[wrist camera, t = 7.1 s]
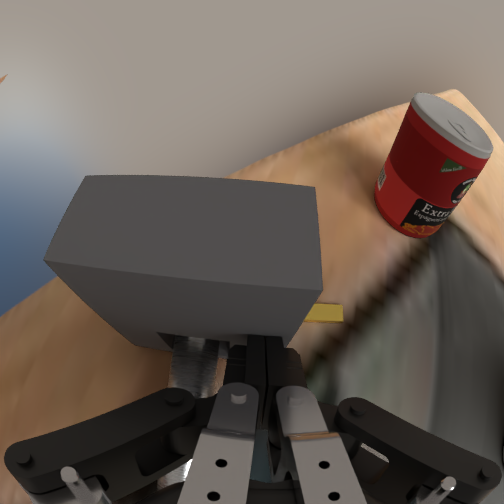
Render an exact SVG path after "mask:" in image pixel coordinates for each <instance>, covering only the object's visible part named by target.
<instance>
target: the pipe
mask: <svg viewBox="0 0 504 504" xmlns="http://www.w3.org/2000/svg"><path fill="white" fill-rule="evenodd" d="M303 322H325V323H342V322H343V308H342V305H334V304H316V303H315V304H314V305H313V307H312V308H311V310H310V312H309V313H308V315H307V316H306V318H305V319H304V321H303ZM219 345H220V340H212V339H204V338H196V337H188V336H181V335H175V341H174V347H173V354H172V360H171V367H170V373H169V380H168V387H167V388H170V387H176V388H182V389H185V390H187V391H189V392H190V393H192V394H193V396H194V398H195V399H197V398H206V397H211V396H213V395H214V390H215V381H216V372H217V363H218V354H219ZM191 461H192V460H190V461H188V462H187V463H185V464H183V465H182V466H180V467H178V468H177V469H175V470H173V471H172V472H170V473H168V474H166V475H165V476H163V477H161V478H159V479H158V484H157V491H158V490H160V489H162V488H164V487H166V486H169V485H171V484H174V483H177V482H182V481H185V479H186V476H187V473H188V470H189V467H190V464H191Z"/></svg>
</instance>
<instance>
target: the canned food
mask: <svg viewBox="0 0 504 504" xmlns="http://www.w3.org/2000/svg"><path fill="white" fill-rule="evenodd" d="M492 151H493V145H492V143H491V141H490V139H489V137H488V136H487V134H486V133H485V132H484V130H483V129H482V128H481V127H480V126H479V125H478V124H477V123H476V122H475V121H474V120H473V119H472V118H471V117H469V116H468V115H467V114H466V113H465V112H463V111H462V110H460V109H459V108H457V107H456V106H454V105H453V104H451V103H449V102H448V101H446V100H444V99H442V98H440V97H437V96H435V95H432V94H428V93H422V92H420V93H415V94H414V97H413V98H412V100H411V102H410V105H409V107H408V110H407V112H406V114H405V117H404V119H403V122H402V124H401V127H400V129H399V132H398V134H397V136H396V139H395V141H394V143H393V146H392V148H391V150H390V153H389V155H388V157H387V160H386V162H385V164H384V166H383V168H382V171H381V173H380V175H379V177H378V179H377V182H376V185H375V193H374V196H375V202H376V205H377V207H378V209H379V211H380V213H381V214H382V216H383V217H384V218H385V219H386V220H387V221H388V223H389V224H391V225H392V226H393V227H394V228H395V229H397V230H398V231H400V232H401V233H403V234H405V235H408V236H411V237H414V238H425V237H427V236H430V235H431V234H433V233H435V232H436V231H437V230H438V229H439V228H440V227H441V225H442V224H443V223H444V222H445V220H446V219H447V218H448V216H449V215H450V214H451V213H452V211H453V210H454V209H455V207H456V206H457V205H458V203H459V202H460V201H461V199H462V198H463V197H464V195H465V194H466V192H467V191H468V190H469V188H470V187H471V185H472V184H473V183H474V181H475V180H476V178H477V177H478V175H479V174H480V172H481V171H482V169H483V168H484V166H485V164H486V163H487V161H488V159H489V158H490V156H491V153H492Z"/></svg>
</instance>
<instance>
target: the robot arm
mask: <svg viewBox="0 0 504 504" xmlns="http://www.w3.org/2000/svg"><path fill="white" fill-rule="evenodd" d="M260 422H261V425H262V429H266V430H268V440H267V451H268V459H269V466H270V473H271V482H272V483H264V482H260V481H256V480H252V479H249V477H250V470H251V462H252V454H253V446H254V439H255V434H256V429H259V428H260ZM362 443H364V444H366V445H367V446H369V447H371V448H372V449H374V450H376V451H377V452H379V453H381V454H383V455H384V456H386V457H387V458H388V460H389V463H388V462H386V461H384V460H382V459H380V458H379V457H377V456H375V455H374V454H372V453H370V452H369V451H367V450H365V449H364V448H362V447H361V445H362ZM190 460H192V461H191V464H190V467H189V470H188V473H187V476H186V479H185V481H182V482H177V483H174V484H171V485H169V486H166V487H164V488H162V489H160V490H158V491H157V492H155V493H153V494H152V495H150V496H148V497H147V498H145V499H143V500H141V501H140V502H138V503H136V504H479V503H480V502H481V501H482V500H483V499H484V498H485V497H486V496H487V495H489V494H490V493H491V492H492V491H493V490H494V489H495V488H496V487H497V485H498V484H499V483H500V481H501V477H502V474H501V470H500V468H499V466H498V465H497V464H496V463H494V462H493V461H491V460H488V459H486V458H483V457H481V456H479V455H476V454H474V453H472V452H469V451H467V450H465V449H463V448H460V447H458V446H456V445H454V444H451V443H449V442H447V441H445V440H443V439H441V438H439V437H437V436H434V435H432V434H430V433H428V432H426V431H424V430H422V429H420V428H418V427H416V426H414V425H412V424H410V423H408V422H406V421H405V420H403V419H401V418H399V417H397V416H395V415H393V414H391V413H389V412H388V411H386V410H384V409H382V408H380V407H378V406H376V405H375V404H373V403H371V402H369V401H367V400H365V399H362V398H357V397H352V398H347V399H344V400H343V401H341V402H340V404H339V406H334V405H329V404H325V403H321V402H319V401H317V400H316V397H315V395H314V394H313V393H312V392H311V391H310V390H308V388H307V384H306V380H305V376H304V372H303V367H302V363H301V359H300V355H299V354H298V353H297V352H296V351H295V350H294V349H293V348H284V345H283V339H282V337H274V336H266V337H265V342H264V336H259V335H248V336H247V345H236V344H235V345H234V346H233V347H231V348H230V349H229V352H228V358H227V364H226V369H225V375H224V381H223V386H222V387H221V388H220V389H219V391H218V393H217V394H215V395H213V396H211V397H206V398H197V399H195V398H194V396H193V394H192V393H190V392H189V391H187V390H185V389H182V388H176V387H170V388H165V389H162V390H160V391H158V392H155V393H153V394H151V395H149V396H146V397H144V398H142V399H139V400H137V401H135V402H132V403H130V404H127V405H125V406H122V407H120V408H117V409H115V410H112V411H110V412H107V413H105V414H102V415H100V416H97V417H94V418H92V419H89V420H86V421H83V422H81V423H78V424H75V425H72V426H69V427H66V428H63V429H60V430H57V431H54V432H51V433H48V434H44V435H41V436H38V437H34V438H31V439H27V440H24V441H20V442H17V443H14V444H12V445H11V446H10V447H9V448H8V449H7V450H6V452H5V456H4V461H5V465H6V467H7V469H8V470H9V471H10V472H11V474H12V475H13V476H14V477H15V479H16V480H17V481H18V483H19V484H20V486H21V487H22V488H23V489H24V490H25V491H26V493H27V494H28V495H29V497H30V499H31V501H32V503H33V504H112V503H111V502H113V501H116V500H118V499H120V498H122V497H124V496H126V495H128V494H130V493H133V492H135V491H137V490H139V489H140V488H142V487H144V486H146V485H148V484H150V483H152V482H154V481H156V480H157V479H159V478H161V477H163V476H165V475H166V474H168V473H170V472H172V471H173V470H175V469H177V468H178V467H180V466H182V465H183V464H185V463H187V462H188V461H190ZM503 461H504V448H503Z"/></svg>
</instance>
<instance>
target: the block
mask: <svg viewBox="0 0 504 504" xmlns="http://www.w3.org/2000/svg"><path fill="white" fill-rule="evenodd" d="M44 261H45V262H46V264H47V265H48V266H49V267H50V268H51V269H52V270H53V271H54V272H55V273H56V274H57V275H58V276H59V277H60V278H61V279H62V280H63V281H64V282H65V283H66V284H67V285H68V286H69V287H70V288H71V289H72V290H73V291H74V292H75V293H76V294H77V295H78V296H79V297H80V298H81V299H82V300H83V301H84V302H85V303H86V304H87V305H88V306H89V307H90V308H92V309H93V310H94V311H95V312H96V313H97V314H98V315H99V316H100V317H101V318H103V319H104V320H105V321H106V322H107V323H108V324H110V325H111V326H112V327H113V328H114V329H115V330H117V331H118V332H119V333H120V334H121V335H123V336H124V337H125V338H126V339H127V340H129V341H130V342H131V343H132V344H134V345H136V346H142V347H147V348H152V349H158V350H164V351H170V352H173V347H174V341H175V335H181V336H188V337H196V338H204V339H212V340H220V345H219V354H218V358H224V359H227V358H228V352H229V349H230V348H231V347H233V346H234V345H235V344H236V345H247V336H248V335H259V336H264V342H265V337H266V336H274V337H282V339H283V345H284V348H286V347H287V345H288V344H289V342H290V341H291V339H292V338H293V336H294V335H295V333H296V332H297V330H298V329H299V327H300V326H301V324H302V322H303V321H304V319H305V318H306V316H307V315H308V313H309V312H310V310H311V308H312V307H313V305H314V304H315V302H316V300H317V299H318V297H319V296H320V294H321V292H322V291H323V283H322V265H321V249H320V236H319V223H318V212H317V202H316V192H315V187H310V186H302V185H293V184H284V183H274V182H263V181H252V180H239V179H225V178H209V177H188V176H158V175H94V176H85V178H84V179H83V181H82V183H81V185H80V186H79V188H78V190H77V192H76V193H75V195H74V197H73V199H72V201H71V202H70V205H69V206H68V208H67V210H66V212H65V214H64V216H63V218H62V220H61V222H60V224H59V226H58V228H57V230H56V232H55V234H54V236H53V239H52V241H51V243H50V245H49V247H48V250H47V252H46V255H45V257H44Z"/></svg>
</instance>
